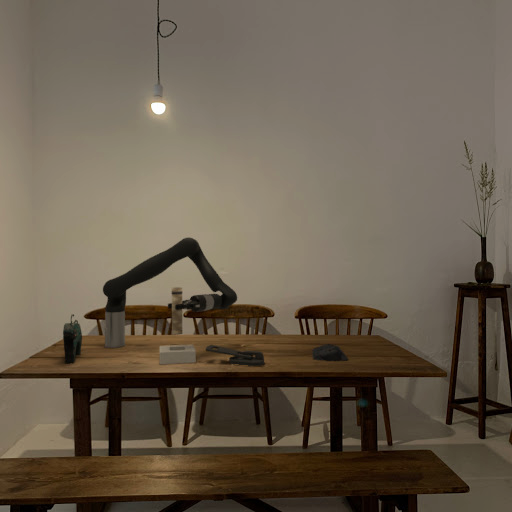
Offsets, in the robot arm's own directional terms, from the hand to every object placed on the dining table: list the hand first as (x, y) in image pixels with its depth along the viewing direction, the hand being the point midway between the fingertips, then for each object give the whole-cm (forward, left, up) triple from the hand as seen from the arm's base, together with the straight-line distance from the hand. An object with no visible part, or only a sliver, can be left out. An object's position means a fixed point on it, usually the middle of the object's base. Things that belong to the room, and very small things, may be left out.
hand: (172, 306), depth 203 cm
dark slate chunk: (+70, -2, -24) cm, 75 cm away
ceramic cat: (-43, +12, -24) cm, 51 cm away
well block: (+2, +2, -24) cm, 24 cm away
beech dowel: (+2, +2, -12) cm, 12 cm away
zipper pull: (+26, -8, -24) cm, 36 cm away
